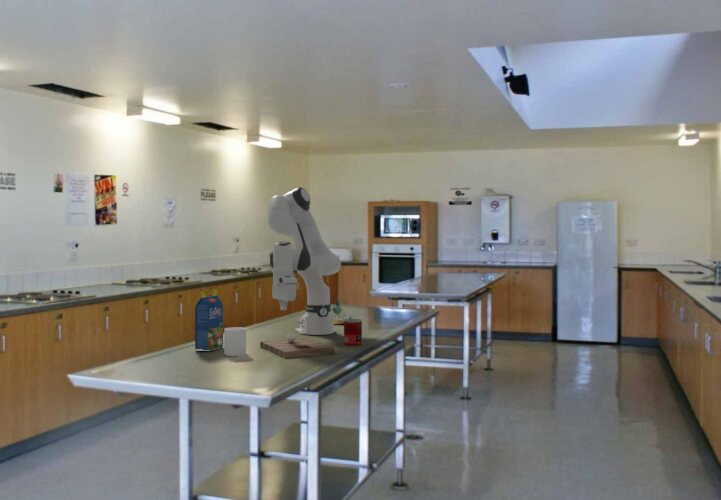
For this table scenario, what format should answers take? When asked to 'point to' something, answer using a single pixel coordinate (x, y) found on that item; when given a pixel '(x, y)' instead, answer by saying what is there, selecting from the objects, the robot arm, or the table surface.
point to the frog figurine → (337, 310)
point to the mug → (235, 341)
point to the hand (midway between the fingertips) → (283, 310)
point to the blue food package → (209, 321)
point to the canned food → (352, 332)
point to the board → (297, 348)
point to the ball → (291, 337)
